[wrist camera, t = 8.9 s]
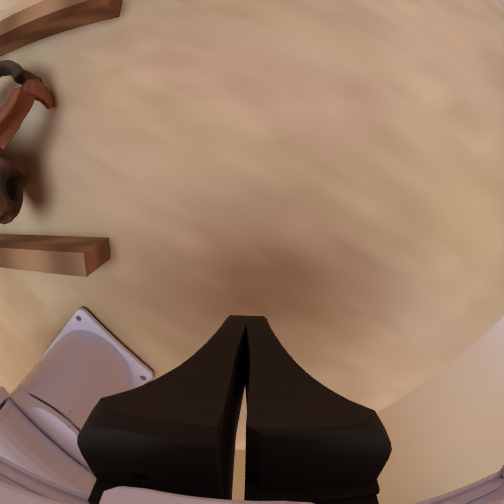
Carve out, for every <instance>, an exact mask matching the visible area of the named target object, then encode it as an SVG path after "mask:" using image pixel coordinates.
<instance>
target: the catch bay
mask: <svg viewBox="0 0 504 504" xmlns="http://www.w3.org/2000/svg"><path fill="white" fill-rule="evenodd" d="M121 3H122V0H44V1H41V2H39V3H37V4H35V5H32V6H30V7H28V8H26V9H24V10H22V11H20V12H17V13H15V14H13V15H11V16H10V17H8V18H6V19H4V20H2V21H0V56H1V55H3V54H6V53H8V52H10V51H12V50H15V49H17V48H19V47H22V46H24V45H27V44H29V43H32V42H34V41H37V40H39V39H42V38H45V37H48V36H51V35H53V34H56V33H59V32H62V31H66V30H69V29H72V28H75V27H79V26H82V25H86V24H90V23H94V22H98V21H102V20H106V19H110V18H115V17H119V13H120V8H121ZM109 259H110V253H109V241H108V238H92V237H65V236H36V235H6V234H0V267H3V268H11V269H19V270H28V271H36V272H45V273H54V274H64V275H73V276H83V277H87V276H88V275H90V274H91V273H92V272H93V271H95V270H96V269H97V268H99V267H100V266H101V265H103V264H104V263H105V262H107V261H108V260H109Z"/></svg>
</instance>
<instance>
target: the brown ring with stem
mask: <svg viewBox="0 0 504 504" xmlns="http://www.w3.org/2000/svg"><path fill="white" fill-rule="evenodd" d="M8 75H11V76H12V77H13V79H14V81H15V82H17V83H19V84H21V85H22V87H19V88H15V89H13V90H12V92H11V94H10V96H9V98H8V100H7V101H6V103H5V105H4V107H3V108H2V109H1V111H0V148H1V149H2V150H4V149H5V148H6V147H7V145H8V143H9V142H10V140H11V139H12V137H13V135H14V134H15V133H16V132H17V130H18V129H19V127H20V125H21V123H22V121H23V120H24V118H25V117H26V115H27V114H28V112H29V111H30V109H31V107H32V105H33V102H34V100H37V101H40V102H41V103H42V104H43V105H45V107H46V108H47V109H50V108H52V107H53V101H52V96H51V94H50V92H49V91H48V88H47V87H46V86H44V84H43V83H42V80H41V78H39V77H38V76H36V75H34V74H32V73H31V72H29V71H26V70H23V69H22V67H21V66H20V65H19V64H17V63H15V62H13V61H10V60H4V61H0V77H1V76H8ZM30 177H31V175H30V174H29V173H26V172H23V171H21V170H19V168H17V167H16V166H15V164H14V163H13V162H12V161H11V160H10V159H7V158H5V157H3V156H0V223H2V224H7V223H9V222H11V221H12V220H13V219H14V218H15V217H16V216H17V215H18V213H19V212H20V209H21V206H22V202H23V190H24V188H25V186H26V185H27V183H28V181H29V179H30Z"/></svg>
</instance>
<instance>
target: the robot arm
mask: <svg viewBox="0 0 504 504" xmlns="http://www.w3.org/2000/svg"><path fill="white" fill-rule="evenodd" d="M79 316H80V317H81V319H80V318H79ZM143 376H145V377H146V378H145V377H143ZM152 377H153V372H152V370H150V369H149V368H148V367H147V366H146V365H145V364H143V363H142V362H141V361H140V360H139V359H138V358H136V357H135V356H134V355H133V354H132V353H131V352H130V351H129V350H128V349H126V348H125V347H124V346H123V345H122V344H121V343H120V342H119V341H118V340H117V339H116V338H114V337H113V336H112V335H111V334H110V333H109V332H108V331H107V330H106V329H105V328H104V327H103V326H102V325H101V324H100V323H99V322H98V321H97V320H96V319H95V318H94V317H93V316H92V315H91V314H90V313H89V312H88V311H87V310H86V309H85V308H79V309H78V310H77V312H76V313H75V314H74V315H73V317H72V318H71V319H70V320H69V322H68V323H67V324H66V326H65V327H64V328H63V330H62V331H61V332H60V333H59V335H58V336H57V337H56V339H55V340H54V341H53V343H52V344H51V346H50V347H49V348H48V350H47V351H46V352H45V354H44V355H43V357H42V358H41V361H40V362H39V363H38V364H37V365H36V366H35V367H34V368H33V369H32V371H31V372H30V373H29V374H28V375H27V376H26V377H25V378H24V380H23V381H22V382H21V383H20V384H19V385H18V387H17V388H16V389H15V390H14V391H13V392H11V393H10V394H9V393H8V392H7V391H6V389H5V388H4V387H0V504H379V503H378V499H377V496H376V494H378V493H379V485H378V482H377V478H378V476H379V474H380V473H381V471H382V469H383V467H384V466H385V464H386V462H387V461H388V459H389V456H390V453H391V451H392V449H391V442H390V440H389V437H388V434H387V432H386V430H385V428H384V426H383V424H382V422H381V421H380V419H379V417H378V415H377V414H376V412H375V411H374V410H372V409H369V408H367V407H364V406H362V405H360V404H357V403H355V402H352V401H350V400H348V399H346V398H344V397H342V396H340V395H339V394H337V393H335V392H333V391H332V390H330V389H328V388H327V387H325V386H324V385H322V384H321V383H319V382H318V381H317V380H315V379H314V378H313V377H311V376H310V375H309V374H308V373H306V372H305V371H304V370H303V369H302V368H301V367H300V366H299V365H298V364H297V363H296V362H295V361H294V360H293V358H292V357H291V356H290V355H289V354H288V353H287V351H286V350H285V349H284V347H283V346H282V345H281V343H280V342H279V340H278V339H277V337H276V336H275V334H274V333H273V331H272V329H271V327H270V325H269V323H268V321H267V319H266V318H265V317H264V316H237V315H230V316H229V317H228V318H227V319H226V320H225V322H224V323H223V324H222V326H221V327H220V328H219V329H218V331H217V332H216V333H215V334H214V335H213V336H212V337H211V338H210V340H209V341H208V342H207V343H206V344H205V345H204V346H203V347H202V348H200V349H199V350H198V351H197V352H196V353H195V354H194V355H193V356H192V357H190V358H189V359H188V360H187V361H185V362H184V363H183V364H181V365H180V366H178V367H177V368H175V369H173V370H172V371H170V372H168V373H166V374H165V375H163V376H161V377H159V378H157V379H155V380H153V381H151V382H149V383H147V382H148V381H149V380H151V379H152ZM145 383H146V384H145ZM244 387H245V388H246V403H247V421H246V464H245V495H244V496H245V497H244V501H240V500H232V485H233V469H234V454H235V440H236V432H237V426H238V421H239V415H240V410H241V404H242V399H243V393H244ZM8 394H9V395H8ZM7 395H8V396H7ZM415 504H504V465H503V467H502V468H501V470H500V471H498V472H497V473H494V474H492V475H490V476H488V477H486V478H484V479H481V480H479V481H477V482H474V483H472V484H470V485H467V486H465V487H462V488H460V489H457V490H454V491H452V492H449V493H447V494H444V495H441V496H437V497H435V498H432V499H428V500H425V501H422V502H419V503H415Z"/></svg>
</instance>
